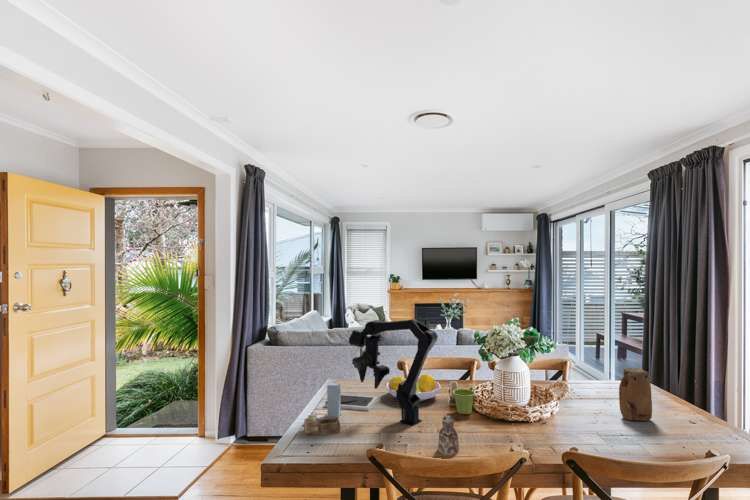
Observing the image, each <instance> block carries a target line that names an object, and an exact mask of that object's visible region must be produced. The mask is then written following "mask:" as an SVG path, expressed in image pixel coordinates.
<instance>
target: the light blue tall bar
mask: <svg viewBox="0 0 750 500" xmlns="http://www.w3.org/2000/svg"><path fill="white" fill-rule="evenodd" d="M326 388H327V389H326V390H327V391H326V392H327V393H326V395H327V397H326V398H327V399H326V401H327V407H326V409H327V410H326V413H327V414H326V415H327V417H326V418H335V417H338V419H339V418H340V417H341V416H342V415H341V413H342V412H341V411H342V410H341V394H342V392H341V390H342V389H341V383H331V382H329V383H328V384H327V385H326Z"/></svg>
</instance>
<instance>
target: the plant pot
mask: <svg viewBox="0 0 750 500" xmlns="http://www.w3.org/2000/svg"><path fill="white" fill-rule="evenodd" d="M452 394H453V396H454V398H455V406H456V411H457V413H458V414H460V415H470V414H472V411H473V403H474V397H475V395H476V392H475V391H474V390H472V389H467V388H457V389H454V390H453V391H452Z"/></svg>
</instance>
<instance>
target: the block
mask: <svg viewBox="0 0 750 500" xmlns="http://www.w3.org/2000/svg"><path fill="white" fill-rule="evenodd" d="M651 385H652V384H651V380H650V373H649V372H648V371H645V370H644V369H642V368H638V367H637V368H632V367H627V368H624V369H623V376H621V380H620V383H619V385H618V398H619V399H618V400H619V410H620V414H621V416H622V418H623V419H625V420H627V421H628V420H629V421H638V422H639V421H640V422H641V421H643V422H646V421H650V420H651V419H652V418H653V417H652V416H653V400H652V386H651Z"/></svg>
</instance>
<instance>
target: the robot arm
mask: <svg viewBox="0 0 750 500" xmlns="http://www.w3.org/2000/svg"><path fill="white" fill-rule="evenodd" d="M402 330H409V331H411V333H412V335H413V336H414V337H415V338H416V339H417V340H418V341H417V349H416V350H417V351H416V354H415V356H414V358H413V362H412V364H411V366H410V368H409V370H408V373H407V376H406V381H405V380H404V381H403V382H401V383H399V385H398V389H397V391H396V393H397V394H396V397H395V398H396V400H397V401H398V404H399V406H400V407H399V408H400V409H401V412H400V413H401V419H400V420H399V422H400V423H403V424H405V425H409V426H414V425H416V424H418V423H420V422H422V420H421V419H420V418H419V417H420V415H419V413H420V412H419V406H418V405H419V404H420V403H421V401H420V398H419V397H418V396H417V395H416V394H415V392H416V382H417V379H418V378H420V377H419V376H420V374H421V371H422V369H423V366H424V365H425V361H426V359H427V356H428V354H429V353H430V351H431V350H432V349H433V347H434V346H435V344H436V343H437V341H438V338H439V337H438V334H437V333H436V331H435V330H433V329H431V328H429V327H428V326H427V325H425V324H423V323H421V322H420V321H418V319H415V318H411V319H406V320H405V319H403V320H402V319H401V320H392V321H386V320H381V319H380V320H379V319H374V320H371V321H367V322H366V323H365V325H364V328H363V330H362V331H359V330H357V329H354V330H352V331H351V334H350V336H349V338H348V343H349V346H352V347H357V348H364V350H363V351H362V353H361V355H360V356H358V357H357V356H355V357H353V358H352V363H351V365H353V366H354V368H355V369H357V371H358V375H359V379H360V383H364V381H365V378H366V374H367V370H368V369H369V368H370V369H372V370H373V373H372V375H373V377H374V389H375V390H377V389H378V388H379V385H380V384H381V382H382V381H383V379H384V378H385V376H387V375H390V367H389V366H386V365H383V364H381V365H380V361H379V360H378V359H379V357H378V356H380V355H381V352H380V351H379V345H380V342H383V341H384V340H385V339H384V337H383V336H382V335H381V334H380V333H384V332H390V331H402ZM377 334H378V335H377Z"/></svg>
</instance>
